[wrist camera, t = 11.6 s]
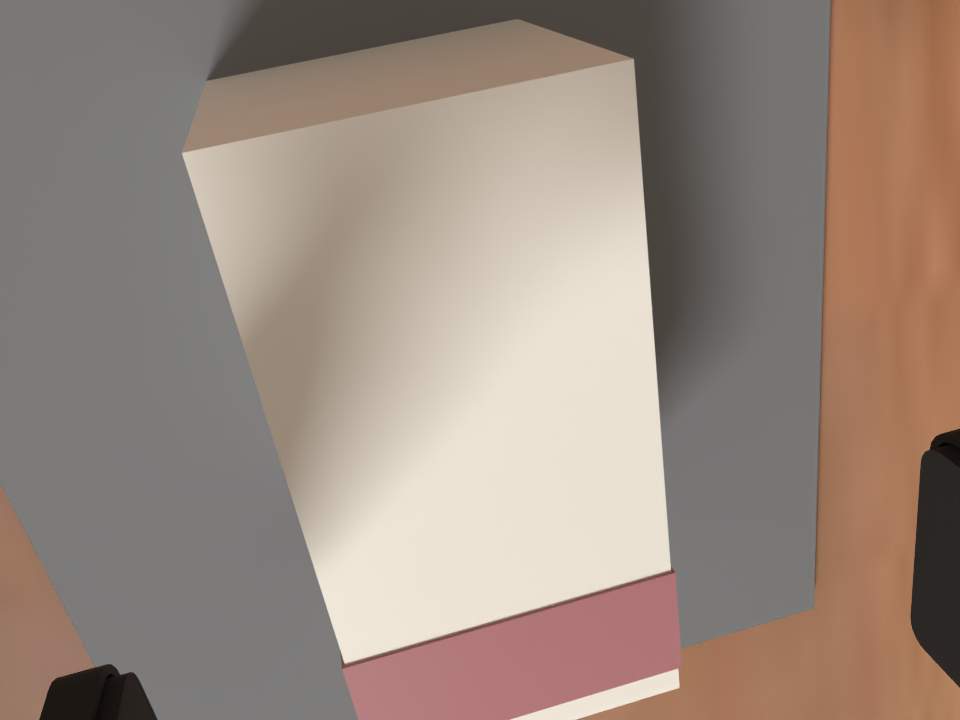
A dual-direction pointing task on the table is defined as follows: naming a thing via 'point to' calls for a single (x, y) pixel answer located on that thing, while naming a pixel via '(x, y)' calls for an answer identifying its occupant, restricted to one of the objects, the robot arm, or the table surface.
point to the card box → (456, 362)
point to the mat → (226, 371)
